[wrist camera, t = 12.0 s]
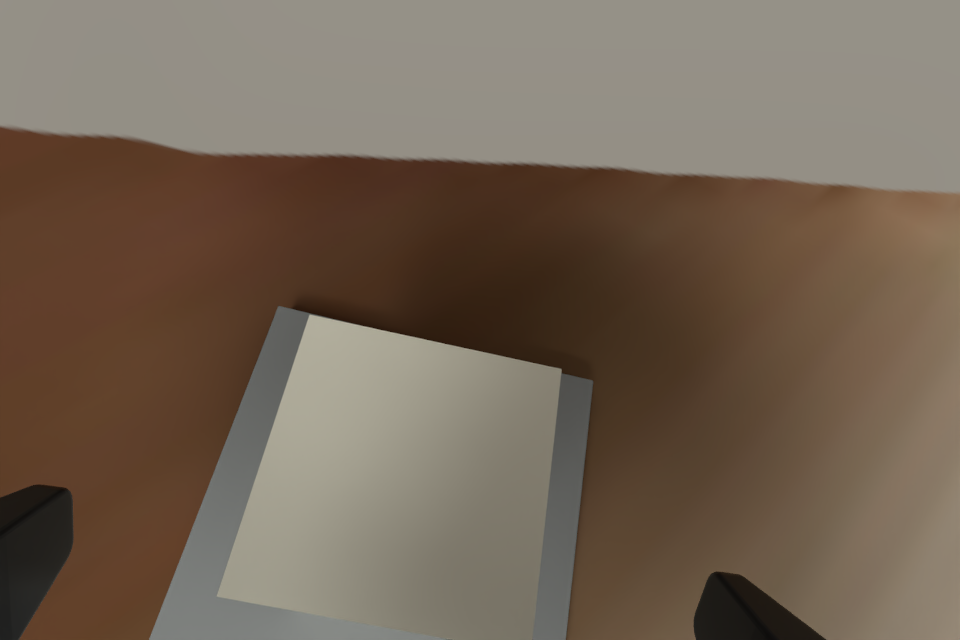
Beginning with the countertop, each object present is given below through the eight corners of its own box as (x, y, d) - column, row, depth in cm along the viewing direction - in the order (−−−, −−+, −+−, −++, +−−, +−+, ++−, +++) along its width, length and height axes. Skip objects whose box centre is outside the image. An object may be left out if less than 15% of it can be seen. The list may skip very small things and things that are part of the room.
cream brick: (480, 476, 21) (561, 369, 12) (454, 639, 19) (530, 653, 10) (335, 447, 21) (309, 314, 12) (290, 609, 18) (215, 596, 10)
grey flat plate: (583, 391, 24) (593, 380, 23) (533, 836, 18) (543, 850, 17) (282, 320, 24) (278, 305, 23) (117, 756, 17) (100, 766, 16)
